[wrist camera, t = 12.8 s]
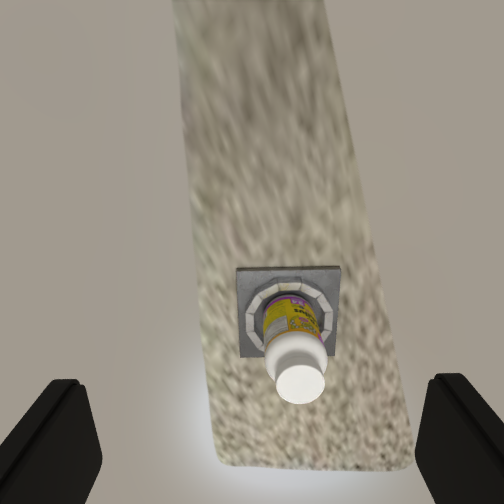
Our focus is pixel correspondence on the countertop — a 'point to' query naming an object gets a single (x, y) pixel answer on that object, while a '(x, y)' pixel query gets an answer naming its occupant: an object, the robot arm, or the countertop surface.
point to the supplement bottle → (294, 349)
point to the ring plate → (286, 283)
